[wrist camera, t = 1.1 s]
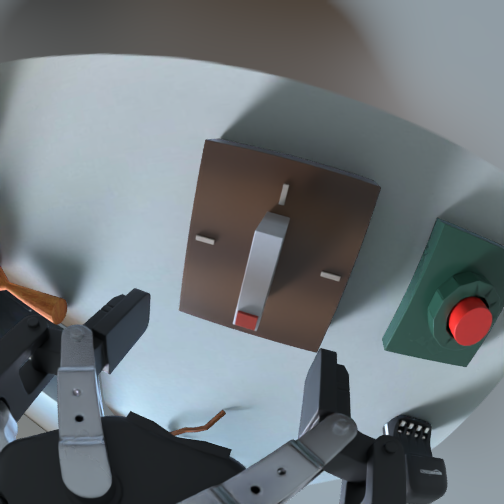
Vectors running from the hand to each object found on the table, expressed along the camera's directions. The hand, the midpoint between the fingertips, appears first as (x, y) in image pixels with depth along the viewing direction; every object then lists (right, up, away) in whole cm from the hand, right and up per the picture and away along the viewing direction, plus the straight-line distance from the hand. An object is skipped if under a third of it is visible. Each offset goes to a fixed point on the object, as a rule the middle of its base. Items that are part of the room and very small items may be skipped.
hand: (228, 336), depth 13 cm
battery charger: (+20, -17, +16) cm, 31 cm away
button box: (+19, 0, +10) cm, 21 cm away
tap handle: (+2, +3, +8) cm, 9 cm away
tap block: (+3, +5, +11) cm, 12 cm away
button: (+18, -1, +7) cm, 20 cm away
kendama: (-31, 0, +21) cm, 37 cm away
